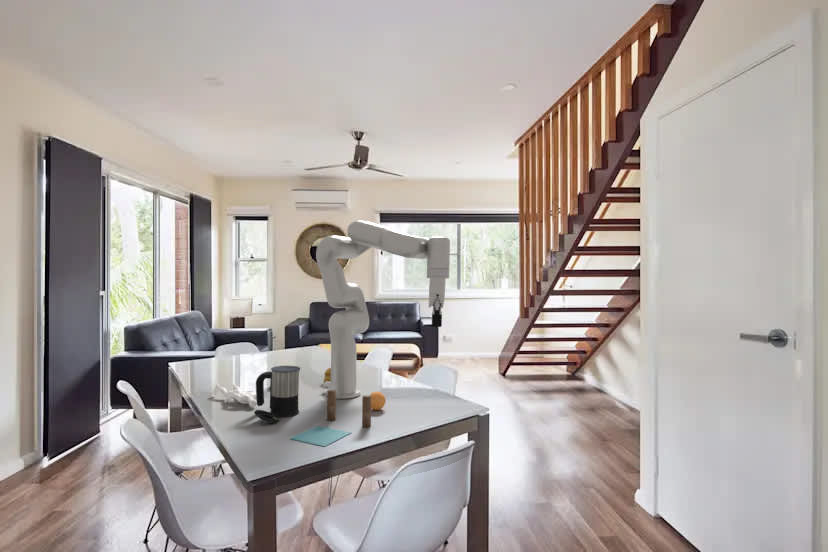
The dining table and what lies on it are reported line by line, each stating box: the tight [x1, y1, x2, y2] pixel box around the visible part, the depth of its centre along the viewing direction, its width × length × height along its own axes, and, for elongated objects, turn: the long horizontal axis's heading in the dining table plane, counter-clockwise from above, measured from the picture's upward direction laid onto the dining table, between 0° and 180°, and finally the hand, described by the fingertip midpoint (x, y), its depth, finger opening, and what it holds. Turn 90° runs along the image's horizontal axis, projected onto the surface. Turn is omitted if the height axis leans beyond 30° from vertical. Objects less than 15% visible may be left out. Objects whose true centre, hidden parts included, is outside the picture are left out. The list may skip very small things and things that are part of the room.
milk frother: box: [253, 365, 301, 424], centre depth 146 cm, size 14×16×15 cm
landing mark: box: [289, 425, 352, 448], centre depth 129 cm, size 12×12×1 cm
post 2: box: [361, 394, 372, 429], centre depth 137 cm, size 3×3×9 cm
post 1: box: [326, 390, 337, 422], centre depth 144 cm, size 3×3×9 cm
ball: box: [369, 391, 387, 411], centre depth 155 cm, size 6×6×6 cm
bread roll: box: [323, 367, 331, 384], centre depth 192 cm, size 13×10×8 cm
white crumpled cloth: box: [212, 383, 257, 409], centre depth 163 cm, size 12×6×25 cm
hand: (436, 325), depth 154 cm, fingers open, 9 cm apart
